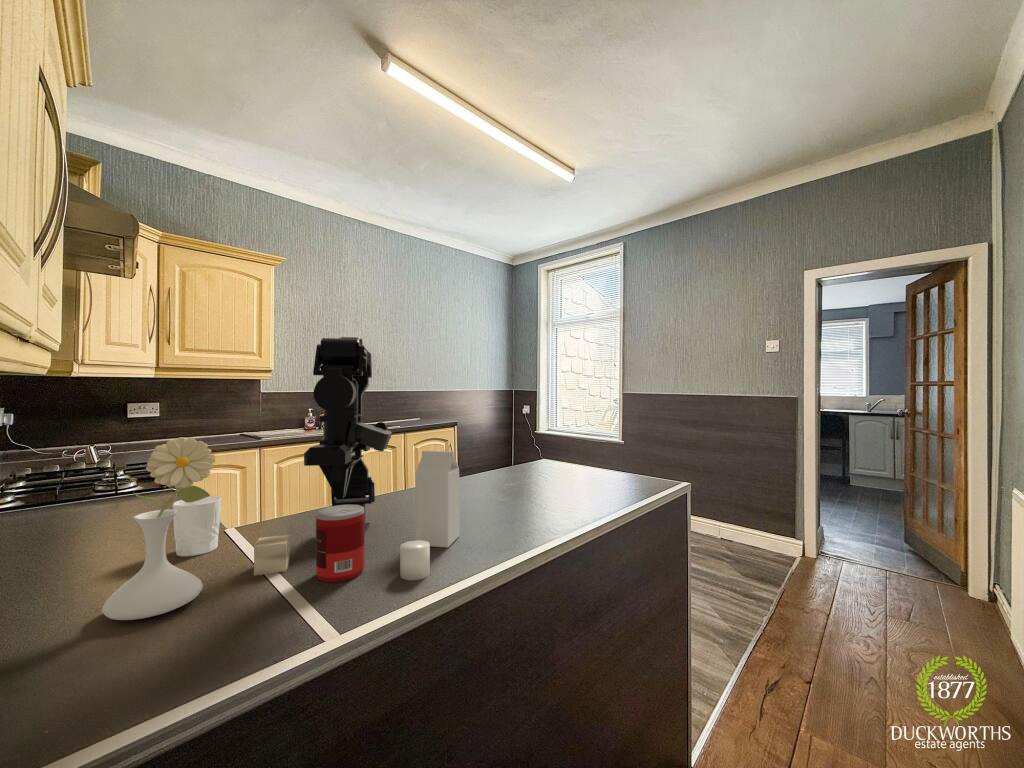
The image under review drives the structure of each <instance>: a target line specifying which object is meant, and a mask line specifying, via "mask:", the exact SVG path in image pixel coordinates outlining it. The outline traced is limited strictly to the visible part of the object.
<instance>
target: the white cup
mask: <svg viewBox="0 0 1024 768" xmlns="http://www.w3.org/2000/svg"><path fill="white" fill-rule="evenodd" d="M221 507H222V497H221V496H217V495H210V496H209V497H206V498H204V499H201V500H198V501H195V502H190V503H187V502H184V501H183V500H182V499H180V500H176V501H174V502H173V503H172V510H177V511H178V512H177V513H176V515H175V516H174V517H173V519H172V521H173V533H174V541H175V555H176V556H179V557H194V556H195V557H196V556H199V555H204V554H208V553H210V552H213V551H214V550H216V549H217V548H218V545H219V533H220V522H221V510H222V509H221Z"/></svg>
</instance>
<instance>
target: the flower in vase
mask: <svg viewBox="0 0 1024 768" xmlns="http://www.w3.org/2000/svg"><path fill="white" fill-rule="evenodd" d="M208 447H209V446H208V444H207V443H204V441H202V440H198V441H197V440H196V439H195V438H193V437H191V438H190V437H189V438H185V437H182V436H181V437H178V438H177V439H169V440H167V441H166V443H163V444H161V445H156V446H155V448H154V450H153V451H152V452H151V454H150V456H149V458H148V461H147V462H146V464H147V466H146V467H145V469H146V471H147V472H149V473H150V474H149V476H150V477H151V478H154V483H156V484H160V485H162V486H164V485H165V486H166V487H169V488H171V487H174V486H175V487H176V488H175V491H174V492H173V493H172V495H171V497H169V499H168V500H167V502H166V503H164V502H163V501H161V500H159V499H158V498H153V497H147V496H142V495H139V494H138V493H135V492H133V494H134V495H135V496H136V498H138V499H140V500H143V501H148V502H152V503H157V504H161V505H163V506H162V508H161V509H158V510H152V511H147V512H143V513H142V512H141V513H139V514H136V515H135V516H133V519H134V520H135V521H136V523H137V524H138V525H139V526H140V528H141V529H142V532H143V535H144V541H145V558H144V563H143V565H142V567H141V568H140V570H139V571H138V572H137V573H135V574H134V575H133V576H132V577H131V578H130V579H128V580H127V581H126V582H125V583H123V584H122V585H121V586H120V587H118V588H117V589H116V590H115V591H114V592H113V593H112V594H111V595H110V596H108V598H107V599H106V600H105V602H104V603H103V606H102V608H101V612H102V614H104V616H106V617H107V618H108V619H111V620H116V621H133V620H143V619H147V618H151V617H155V616H156V617H157V616H159V615H164V614H166V613H169V612H172V611H174V610H176V609H178V608H180V607H183V606H184V605H186V604H188V603H190V602H191V601H193V600H194V599H196V598H197V596H199V595H200V593H201V592H202V590H203V587H204V585H203V583H202V580H201V579H200V578H199V577H197V576H195V574H193V573H191V572H188V571H187V570H185V569H181V568H180V567H177V566H175V565H173V564H172V563H170V562H169V560H168V558H167V553H166V542H167V533H168V530H169V526H170V524H171V522H172V521H173V517H174V516H175V515H176V513H177V512H178V511H177V510H173V509H166V508H167V507H168V505H169V504H170V503H171V501H172V500H173V499H174V498H175V497H176V495H177V497H178V498H179V499H180V500H183V501H184V502H187V503H190V502H195V501H198V500H201V499H204V498H206V497H209V496H211V494H210V493H209V492H208V491H206V490H205V489H203V487H199V486H197V485H194V483H198V482H201V481H204V479H207V478H208V477H209V476H210V474H211V470H212V469H213V467H214V463H216V455H215V454H212V450H211V449H210V448H208ZM180 488H181V489H180Z"/></svg>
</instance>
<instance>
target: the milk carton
mask: <svg viewBox="0 0 1024 768" xmlns="http://www.w3.org/2000/svg"><path fill="white" fill-rule="evenodd" d="M414 477H415V480H414V481H415V540H422V541H427V542H429V543H430V547H435V548H449V547H450V546H451V545H452V544H453V543H454V542H455V541H456V540H457V539H458V538H459V537H460V466H459V465H458V463H457V460H456V458H455V451H449V450H448V451H443V450H441V451H440V450H435V451H434V450H422V451H421V458H420V460H419V462H418V465H417V467H416V470H415V476H414Z"/></svg>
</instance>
